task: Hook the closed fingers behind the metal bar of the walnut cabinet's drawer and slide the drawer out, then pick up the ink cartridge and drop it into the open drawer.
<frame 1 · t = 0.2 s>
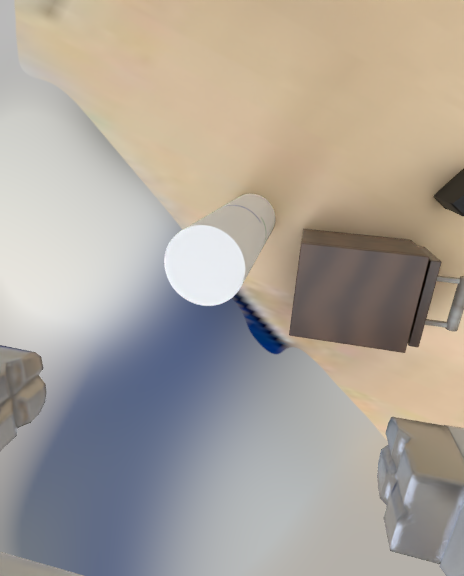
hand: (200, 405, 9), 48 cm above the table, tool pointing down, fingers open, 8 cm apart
cabinet: (348, 276, 55), on the table
cylindrical container: (251, 218, 55), on the table
drawer: (386, 291, 50), point 5 cm above the table, slide at 0.5 cm
ink cartridge: (454, 187, 48), on the table
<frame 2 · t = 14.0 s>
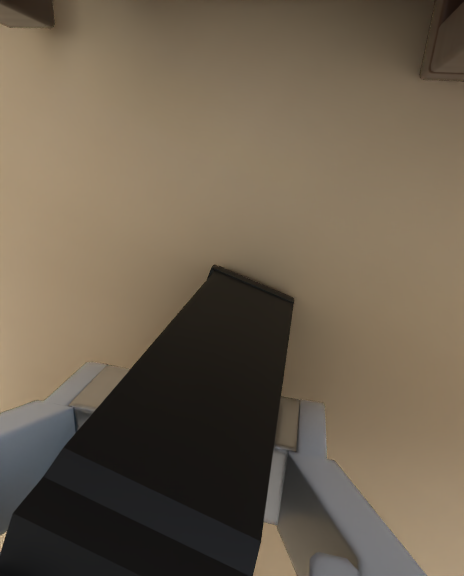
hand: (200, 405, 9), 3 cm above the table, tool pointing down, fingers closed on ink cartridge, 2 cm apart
ink cartridge: (227, 344, 11), on the table, touching gripper
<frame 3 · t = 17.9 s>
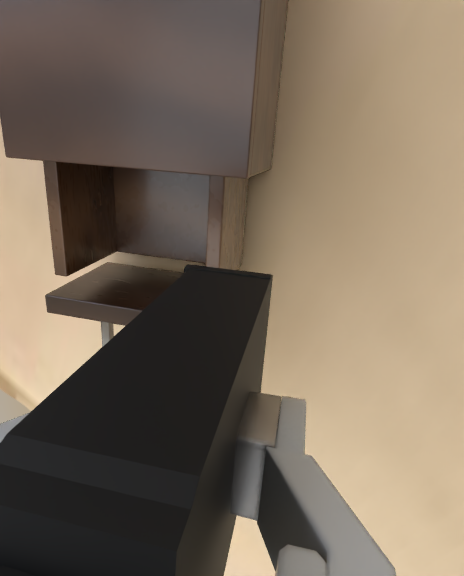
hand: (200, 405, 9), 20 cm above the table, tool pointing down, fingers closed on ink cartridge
cabinet: (184, 40, 24), on the table
drawer: (156, 240, 24), point 5 cm above the table, slide at 7.8 cm
ink cartridge: (229, 339, 11), point 17 cm above the table, touching gripper
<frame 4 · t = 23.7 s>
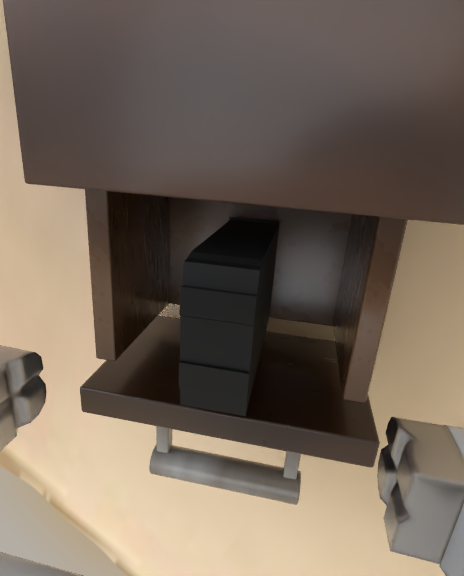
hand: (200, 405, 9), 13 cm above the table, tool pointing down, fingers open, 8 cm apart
cabinet: (280, 5, 16), on the table
drawer: (242, 297, 16), point 5 cm above the table, slide at 7.8 cm, touching ink cartridge
ink cartridge: (251, 266, 19), point 2 cm above the table, touching drawer
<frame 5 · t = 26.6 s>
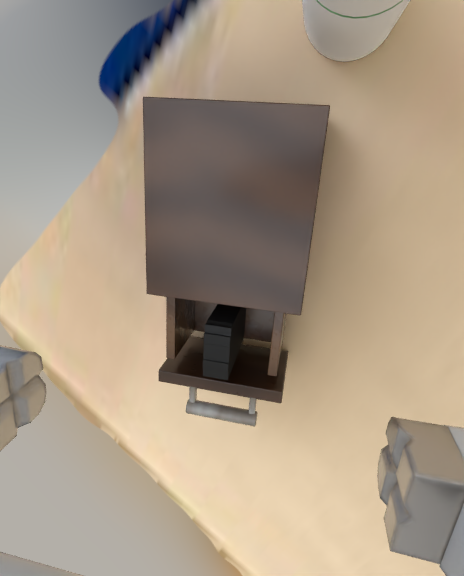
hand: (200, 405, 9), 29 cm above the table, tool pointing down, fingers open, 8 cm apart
cabinet: (247, 197, 36), on the table
cylindrical container: (350, 9, 29), on the table
drawer: (229, 330, 36), point 5 cm above the table, slide at 7.8 cm, touching ink cartridge
ink cartridge: (235, 313, 38), point 2 cm above the table, touching drawer
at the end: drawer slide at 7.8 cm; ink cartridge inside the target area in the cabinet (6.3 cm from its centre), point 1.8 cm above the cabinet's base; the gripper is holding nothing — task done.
